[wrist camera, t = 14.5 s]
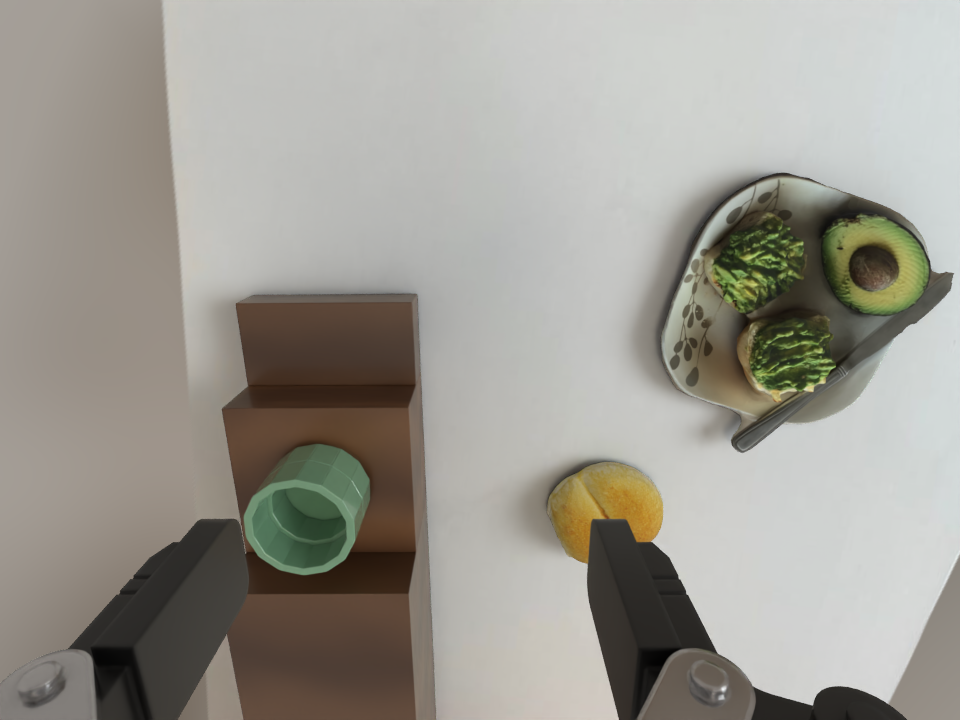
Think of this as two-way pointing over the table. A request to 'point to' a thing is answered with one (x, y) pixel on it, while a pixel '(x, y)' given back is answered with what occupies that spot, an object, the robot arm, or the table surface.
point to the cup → (308, 510)
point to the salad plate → (794, 302)
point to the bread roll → (603, 505)
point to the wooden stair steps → (386, 524)
